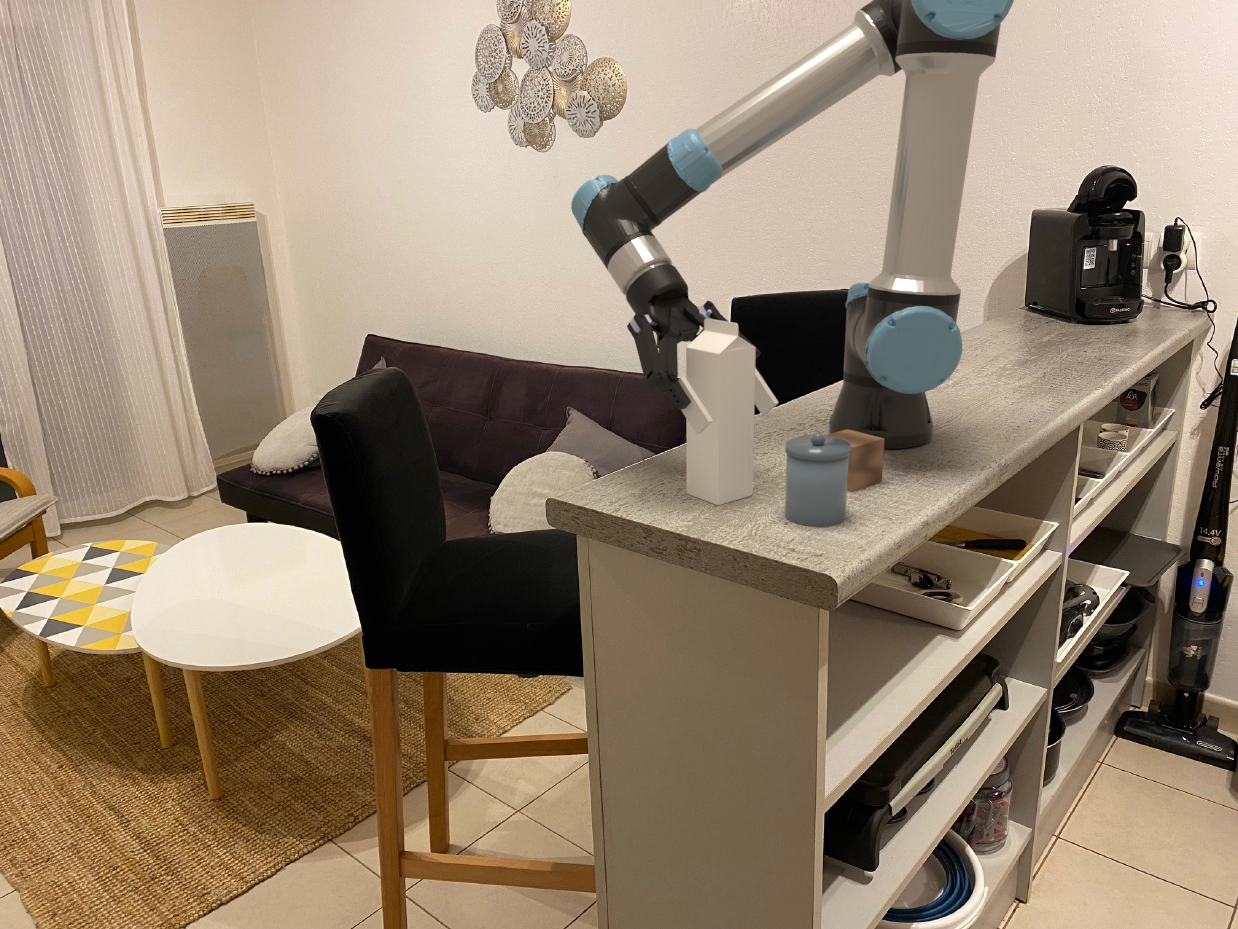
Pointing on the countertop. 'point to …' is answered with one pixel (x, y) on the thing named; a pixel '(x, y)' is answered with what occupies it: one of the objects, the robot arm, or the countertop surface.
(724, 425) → the milk
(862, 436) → the walnut block
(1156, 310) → the countertop surface
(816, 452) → the slate jar
